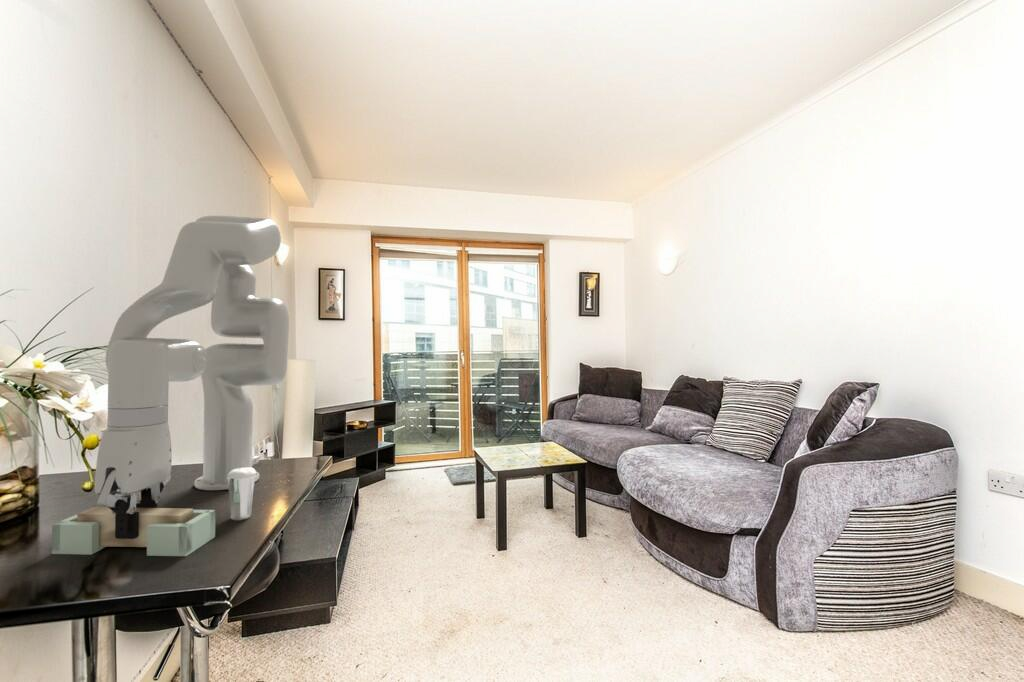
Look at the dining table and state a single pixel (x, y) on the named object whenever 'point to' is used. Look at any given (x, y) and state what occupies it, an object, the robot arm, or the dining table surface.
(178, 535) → the endcap
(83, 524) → the endcap
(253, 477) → the milkshake
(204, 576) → the dining table surface
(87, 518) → the slat
